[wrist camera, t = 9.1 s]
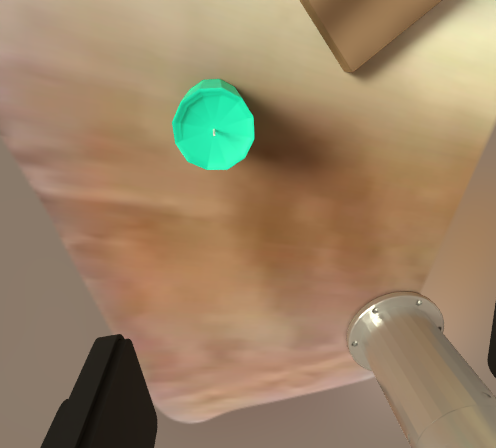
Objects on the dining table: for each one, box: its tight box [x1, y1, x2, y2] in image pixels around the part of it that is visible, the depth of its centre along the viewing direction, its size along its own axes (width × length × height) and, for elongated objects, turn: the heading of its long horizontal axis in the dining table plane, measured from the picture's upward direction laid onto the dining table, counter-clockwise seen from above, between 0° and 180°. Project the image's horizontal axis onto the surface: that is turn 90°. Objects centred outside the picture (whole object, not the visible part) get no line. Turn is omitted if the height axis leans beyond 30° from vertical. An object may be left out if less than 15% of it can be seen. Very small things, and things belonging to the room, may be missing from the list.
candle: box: [172, 79, 255, 170], centre depth 31 cm, size 6×6×12 cm
